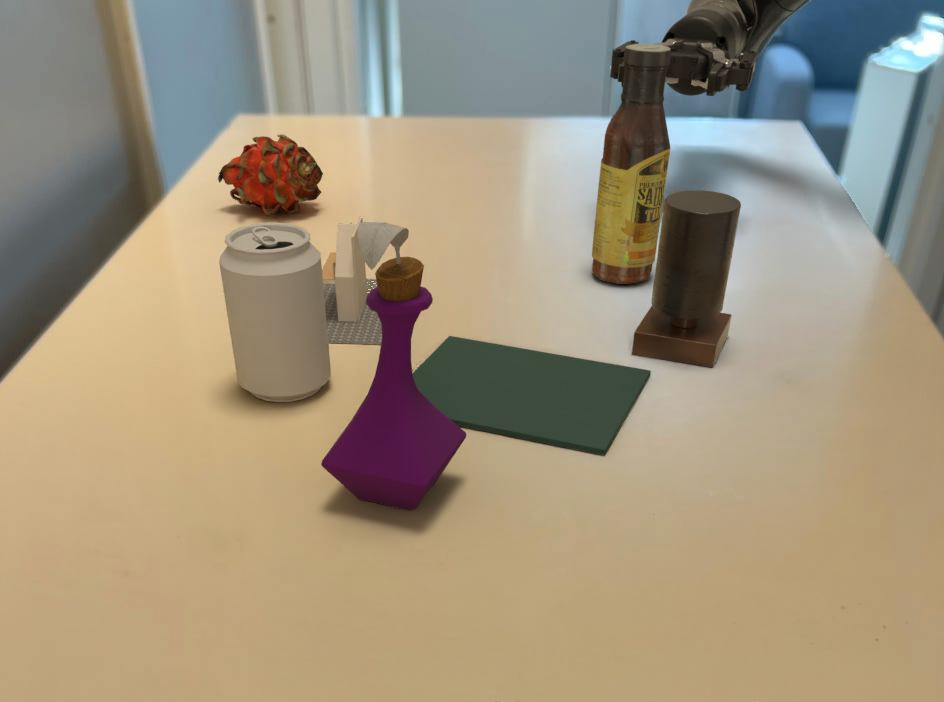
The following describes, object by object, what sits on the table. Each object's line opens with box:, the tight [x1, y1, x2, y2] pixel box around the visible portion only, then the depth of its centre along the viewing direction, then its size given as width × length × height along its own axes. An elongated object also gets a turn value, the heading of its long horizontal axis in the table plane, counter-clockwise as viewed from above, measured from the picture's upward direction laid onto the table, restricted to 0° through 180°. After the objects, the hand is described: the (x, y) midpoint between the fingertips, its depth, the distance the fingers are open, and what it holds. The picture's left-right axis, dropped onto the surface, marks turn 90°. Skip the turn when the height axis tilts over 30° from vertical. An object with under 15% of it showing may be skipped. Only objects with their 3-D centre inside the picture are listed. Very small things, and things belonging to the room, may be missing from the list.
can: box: [218, 221, 332, 403], centre depth 76 cm, size 8×8×12 cm
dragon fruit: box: [217, 134, 324, 217], centre depth 111 cm, size 8×8×12 cm
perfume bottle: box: [320, 221, 467, 511], centre depth 62 cm, size 8×8×18 cm
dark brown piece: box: [631, 189, 742, 368], centre depth 83 cm, size 7×7×12 cm
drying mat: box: [412, 335, 652, 456], centre depth 79 cm, size 18×14×1 cm
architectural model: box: [322, 215, 382, 345], centre depth 90 cm, size 3×7×7 cm, turn 177°
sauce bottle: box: [591, 43, 671, 285], centre depth 92 cm, size 6×6×20 cm
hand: (668, 80), depth 97 cm, fingers open, 8 cm apart
